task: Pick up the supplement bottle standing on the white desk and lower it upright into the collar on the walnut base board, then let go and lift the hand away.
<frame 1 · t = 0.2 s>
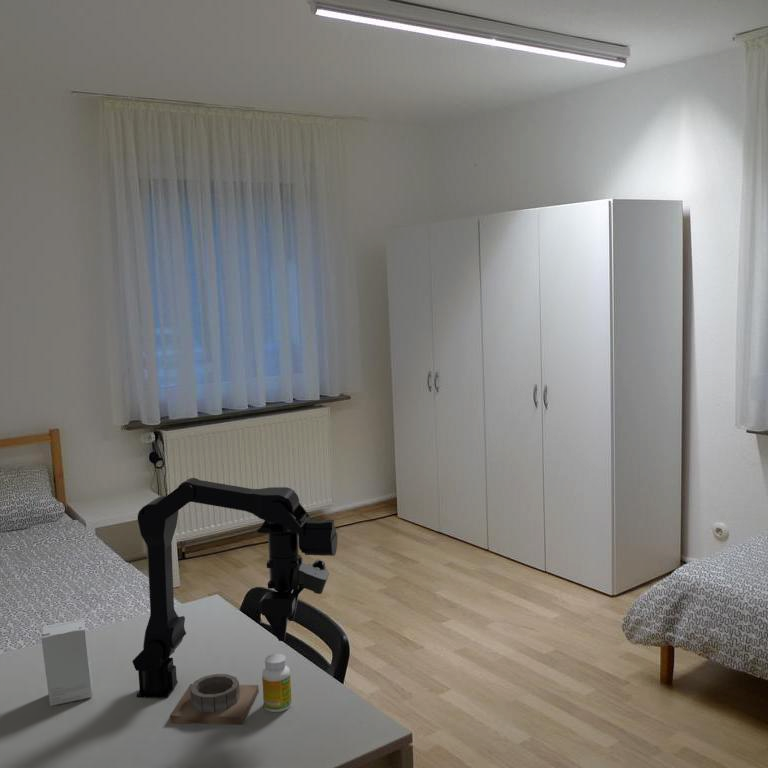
hand: (286, 630, 159), 14 cm above the table, fingers open, 9 cm apart
skincare box: (70, 697, 164), on the table
supplement bottle: (277, 706, 158), on the table
collar board: (215, 707, 158), on the table
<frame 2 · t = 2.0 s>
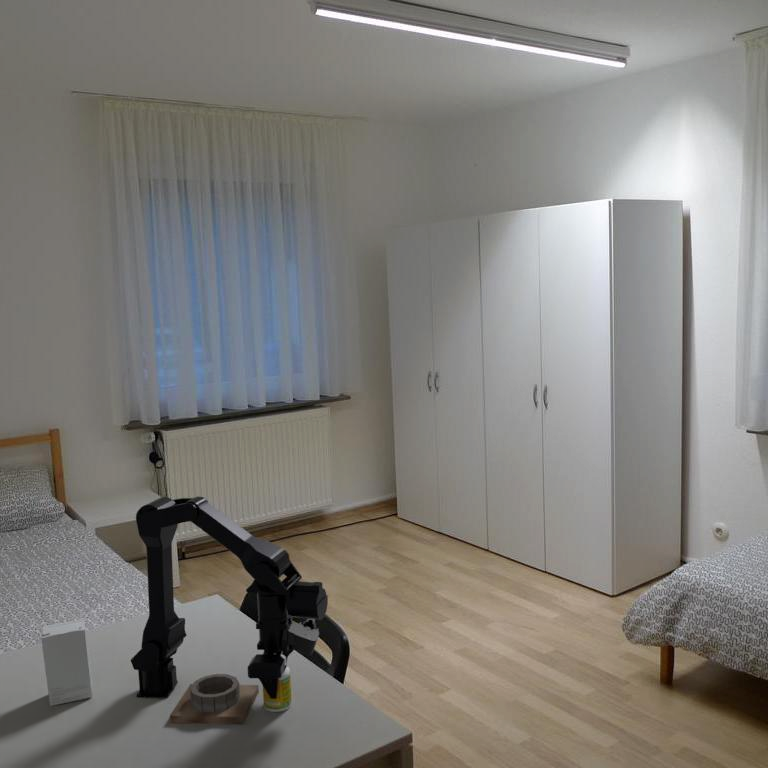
hand: (277, 690, 157), 3 cm above the table, fingers closed on supplement bottle, 5 cm apart
supplement bottle: (277, 706, 158), on the table, touching gripper
everything else where it was.
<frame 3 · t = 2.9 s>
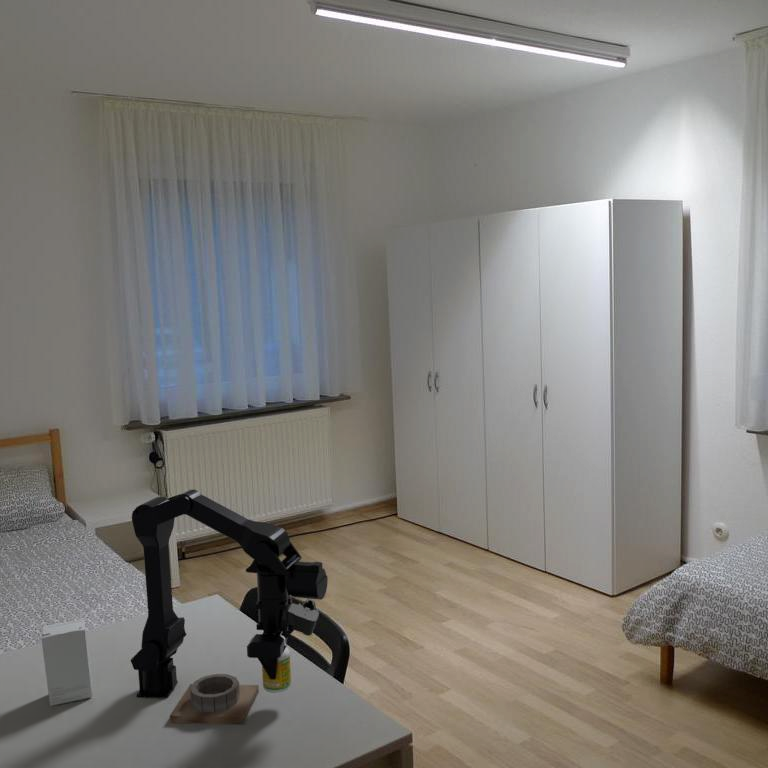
hand: (276, 671, 157), 7 cm above the table, fingers closed on supplement bottle, 5 cm apart
supplement bottle: (277, 687, 157), point 4 cm above the table, touching gripper
everything else where it was.
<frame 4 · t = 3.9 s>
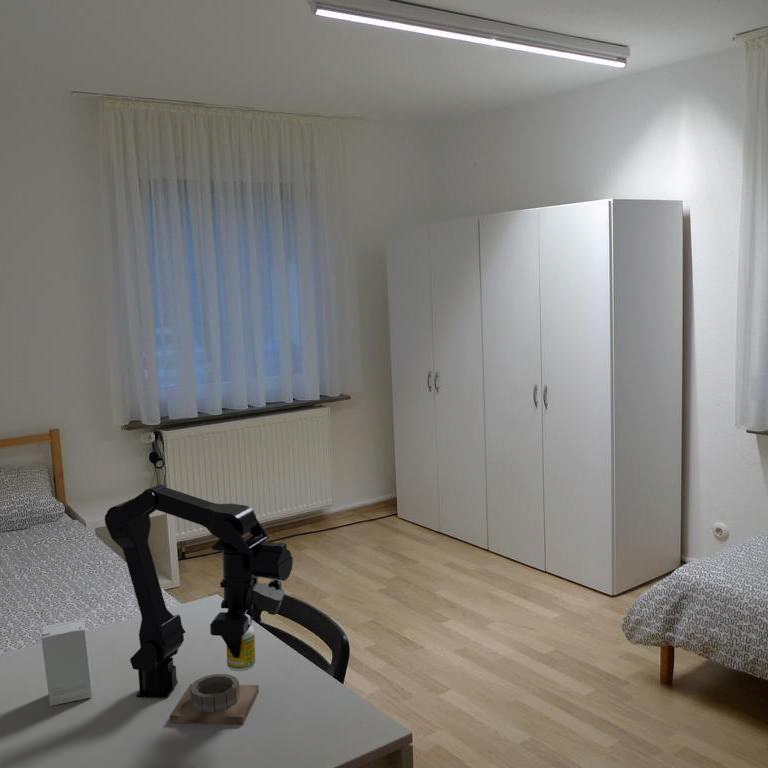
hand: (240, 650, 156), 11 cm above the table, fingers closed on supplement bottle, 5 cm apart
supplement bottle: (241, 666, 157), point 8 cm above the table, touching gripper
everything else where it was.
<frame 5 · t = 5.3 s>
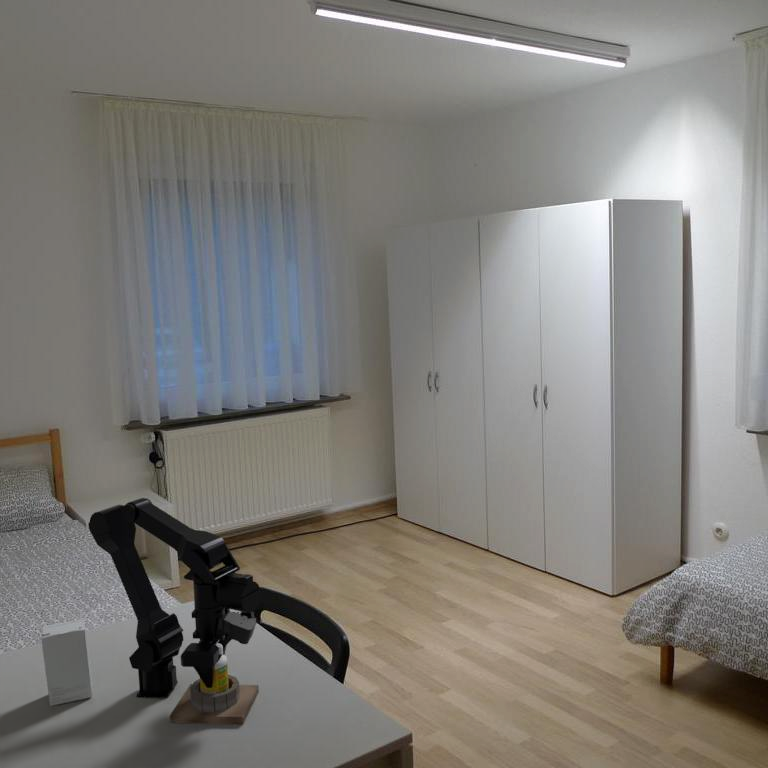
hand: (213, 679, 157), 6 cm above the table, fingers closed on supplement bottle, 5 cm apart
supplement bottle: (214, 695, 157), point 2 cm above the table, touching gripper
everything else where it was.
when the fingers open (5 cm above the table, at t = 6.1 s): supplement bottle stays where it is, resting on collar board.
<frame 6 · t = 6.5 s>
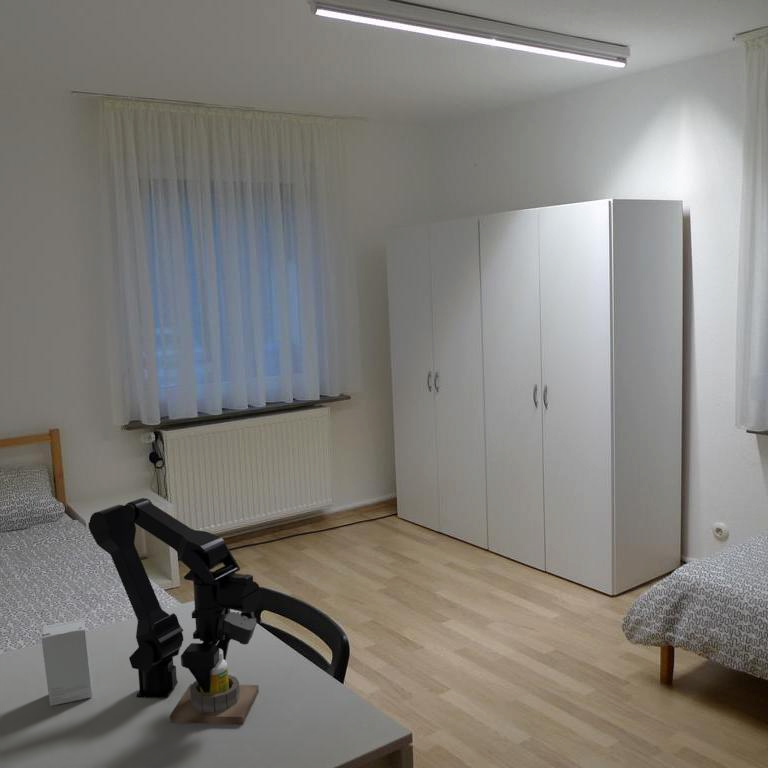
hand: (214, 680, 157), 5 cm above the table, fingers open, 9 cm apart
supplement bottle: (215, 700, 158), point 1 cm above the table, touching collar board
everything else where it was.
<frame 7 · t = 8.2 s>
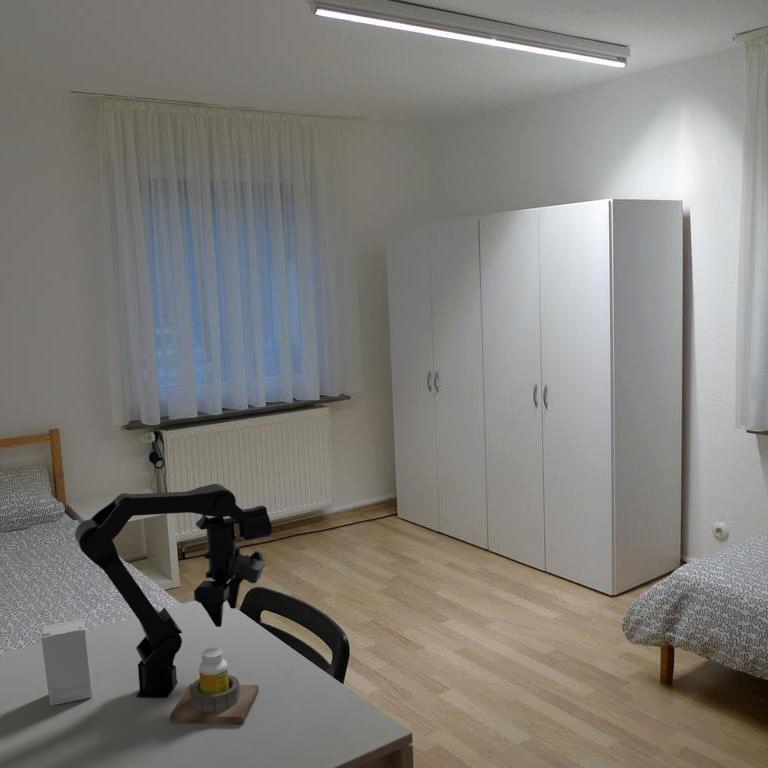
hand: (226, 617, 170), 12 cm above the table, fingers open, 9 cm apart
nothing on the table moved.
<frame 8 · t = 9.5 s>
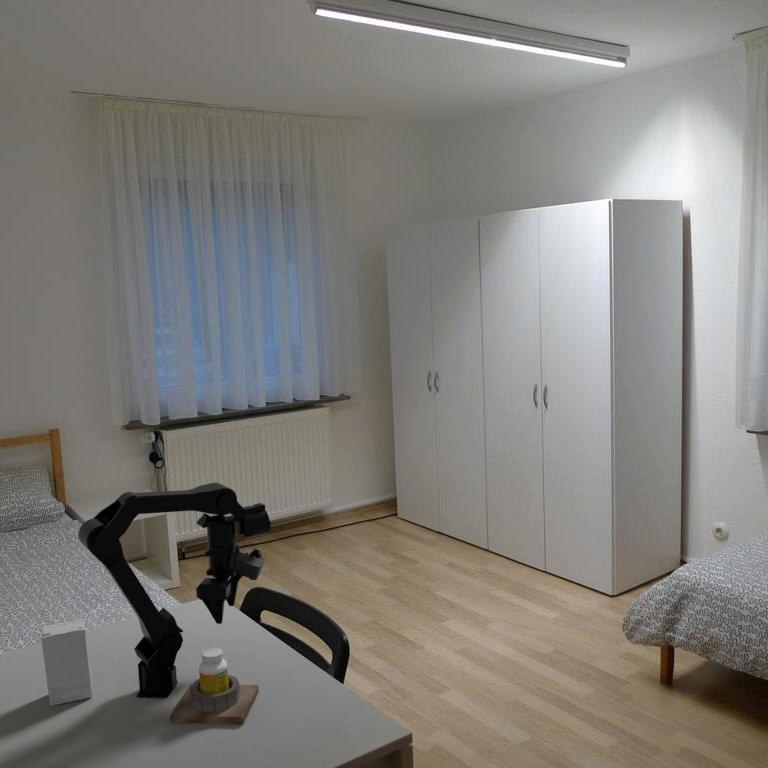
hand: (225, 614, 172), 12 cm above the table, fingers open, 9 cm apart
nothing on the table moved.
at the end: supplement bottle 0.1 cm off-centre on the collar board, point 1.3 cm above the collar board's base; supplement bottle tilted 0°; the gripper is holding nothing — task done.
